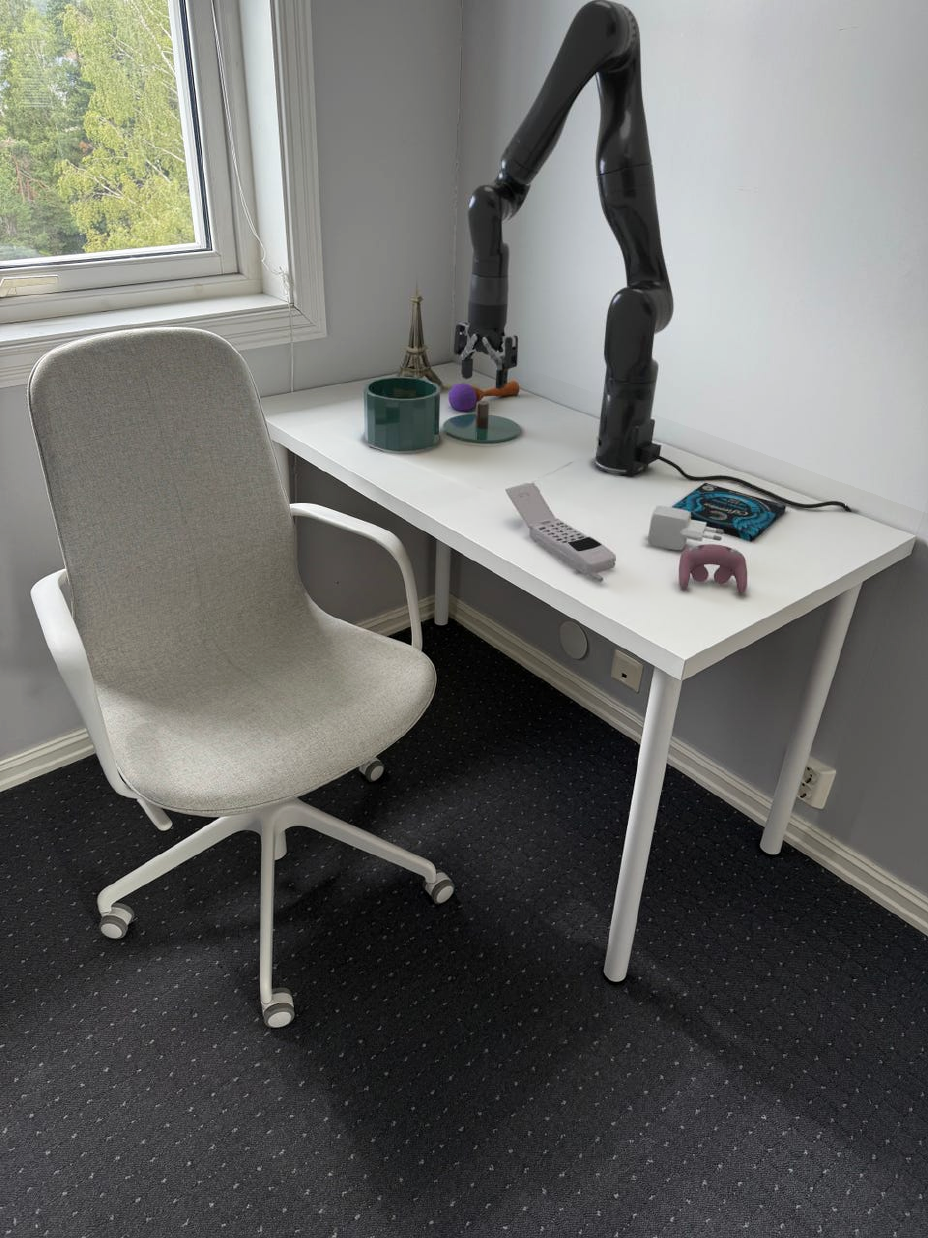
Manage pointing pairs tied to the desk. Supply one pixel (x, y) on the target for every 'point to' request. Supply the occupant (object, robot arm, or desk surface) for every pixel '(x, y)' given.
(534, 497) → the mobile phone
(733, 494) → the guitar string package
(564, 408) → the desk surface
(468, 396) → the kendama
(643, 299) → the robot arm
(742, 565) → the video game controller
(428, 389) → the pot
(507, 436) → the lid
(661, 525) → the power adapter
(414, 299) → the eiffel tower
